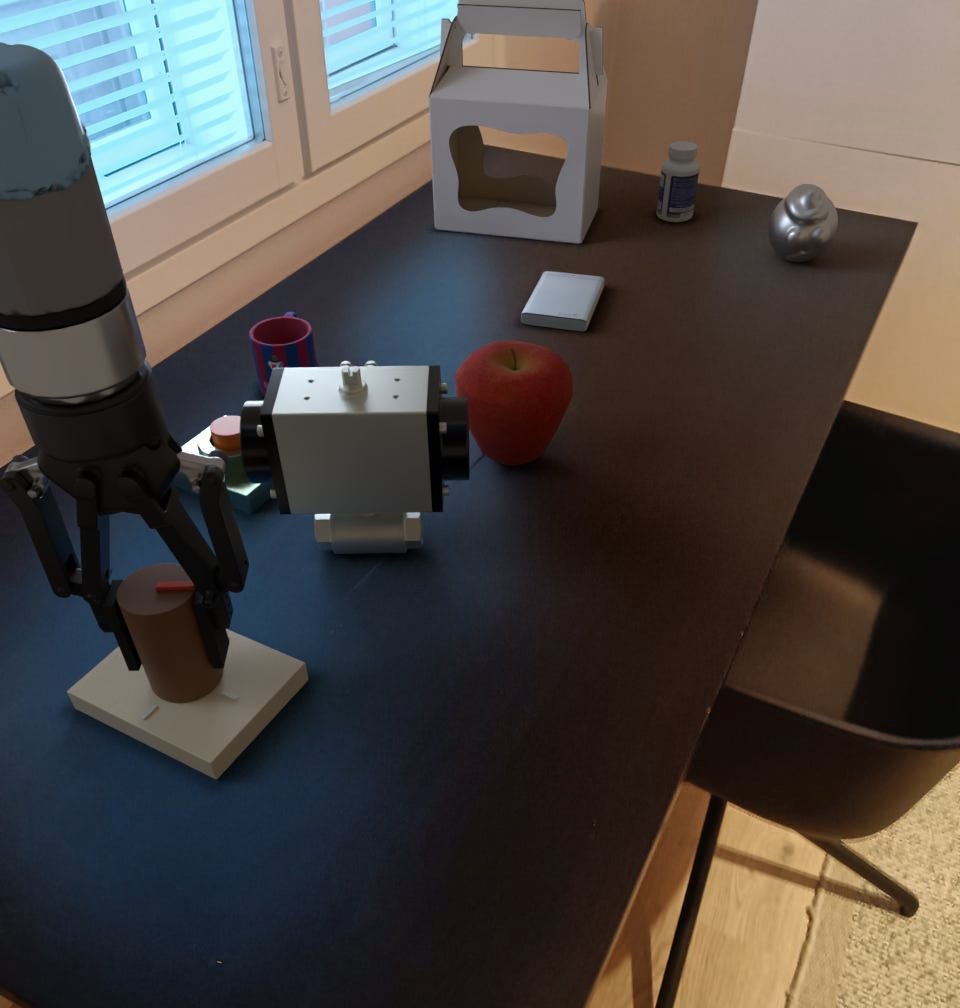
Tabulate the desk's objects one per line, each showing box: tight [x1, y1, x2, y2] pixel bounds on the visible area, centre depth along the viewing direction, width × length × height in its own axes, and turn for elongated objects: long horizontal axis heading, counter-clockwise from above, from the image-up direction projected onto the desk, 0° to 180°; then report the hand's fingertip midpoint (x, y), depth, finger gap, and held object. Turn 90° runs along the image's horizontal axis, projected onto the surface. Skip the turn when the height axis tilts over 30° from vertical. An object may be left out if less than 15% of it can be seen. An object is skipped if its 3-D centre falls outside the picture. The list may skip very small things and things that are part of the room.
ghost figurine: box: [767, 183, 839, 263], centre depth 123 cm, size 9×10×10 cm
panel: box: [66, 629, 310, 781], centre depth 71 cm, size 14×11×2 cm
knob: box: [116, 562, 223, 703], centre depth 67 cm, size 5×5×9 cm
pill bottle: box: [655, 140, 701, 223], centre depth 134 cm, size 5×5×10 cm
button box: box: [172, 414, 274, 515], centre depth 91 cm, size 11×10×4 cm
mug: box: [248, 311, 319, 398], centre depth 103 cm, size 7×10×7 cm
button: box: [209, 414, 241, 450], centre depth 89 cm, size 4×4×2 cm
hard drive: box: [520, 270, 605, 332], centre depth 117 cm, size 2×8×12 cm
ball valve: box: [240, 360, 471, 555], centre depth 78 cm, size 18×8×18 cm, turn 91°
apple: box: [454, 340, 574, 467], centre depth 89 cm, size 11×11×12 cm
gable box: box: [428, 0, 609, 245], centre depth 127 cm, size 22×13×28 cm, turn 75°
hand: (180, 656), depth 69 cm, fingers closed on knob, 5 cm apart
